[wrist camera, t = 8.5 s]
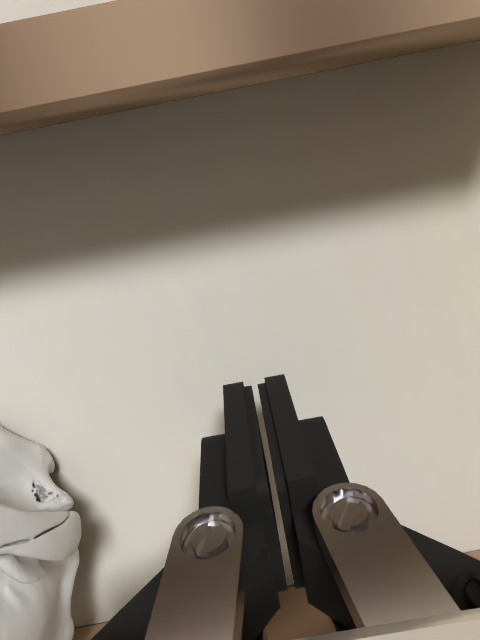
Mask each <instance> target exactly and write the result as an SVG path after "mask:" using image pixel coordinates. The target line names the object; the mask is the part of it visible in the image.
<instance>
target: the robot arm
mask: <svg viewBox="0 0 480 640" xmlns="http://www.w3.org/2000/svg"><path fill="white" fill-rule="evenodd" d="M264 379H265V383H263V384H258V389H259V394H260V400H261V405H262V411H263V416H264V422H265V427H266V433H267V438H268V444H269V449H270V455H271V460H272V465H273V471H274V476H275V482H276V487H277V493H278V498H279V503H280V509H281V514H282V520H283V525H284V530H285V536H286V541H287V547H288V552H289V557H290V563H291V568H292V574H293V579H294V585H295V589H298V588H304V587H305V591H306V596H307V601H308V604H311V605H312V606H314V607H315V608H317V609H318V610H320V611H321V612H323V613H324V614H326V615H327V616H328V620H329V625H330V628H331V631H332V633H328V634H322V635H317V636H311V637H305V638H299V639H294V640H480V560H478V559H476V558H473V557H471V556H469V555H467V554H465V553H462V552H460V551H458V550H456V549H453V548H451V547H449V546H447V545H445V544H442V543H440V542H438V541H436V540H433V539H431V538H429V537H427V536H425V535H422V534H420V533H418V532H416V531H413V530H411V529H409V528H407V527H405V526H402V525H400V523H399V522H398V520H397V519H396V517H395V516H394V515H393V513H392V512H391V510H390V509H389V507H388V506H387V505H386V503H385V502H384V500H383V499H382V498H381V497H380V496H379V495H378V494H377V493H376V492H375V491H374V490H372V489H370V488H368V487H367V486H364V485H360V484H357V483H350V482H349V480H348V477H347V475H346V472H345V470H344V467H343V465H342V462H341V460H340V458H339V455H338V453H337V450H336V448H335V445H334V443H333V440H332V438H331V435H330V433H329V430H328V428H327V425H326V423H325V420H324V418H323V417H322V416H321V417H315V418H310V419H304V420H299V421H298V418H297V415H296V412H295V408H294V405H293V402H292V399H291V395H290V392H289V389H288V386H287V382H286V379H285V376H284V374H283V375H277V376H272V377H266V378H264ZM223 395H224V419H225V434H221V435H216V436H210V437H205V438H202V441H201V463H200V490H199V510H197V511H195V512H192V513H191V514H190V515H188V516H187V517H186V518H184V519H183V520H182V522H181V523H180V524H179V525H178V526H177V528H176V530H175V532H174V535H173V537H172V541H171V545H170V548H169V552H168V556H167V559H166V563H165V567H164V568H163V569H162V570H161V571H160V572H159V573H158V574H157V575H156V576H155V577H154V578H153V579H152V580H151V581H150V582H149V583H148V584H147V585H146V586H145V587H144V588H143V589H142V590H141V591H140V592H139V593H138V594H137V595H136V596H135V597H133V598H132V599H131V600H130V601H129V602H128V603H127V604H126V605H125V606H124V607H123V608H122V609H121V610H120V611H119V612H118V613H117V614H116V615H115V616H114V617H113V618H112V619H111V620H110V621H109V622H108V623H107V624H106V625H105V626H104V627H103V628H102V629H101V630H100V631H99V632H98V633H97V634H96V635H95V636H94V637H93V638H92V639H91V640H268V636H267V628H266V626H267V624H268V623H269V622H270V620H271V619H272V617H273V616H274V615H275V613H276V612H277V611H278V609H281V608H280V601H279V594H278V592H281V591H287V584H286V578H285V572H284V566H283V560H282V554H281V548H280V542H279V536H278V530H277V524H276V518H275V512H274V506H273V500H272V494H271V488H270V482H269V476H268V471H267V465H266V460H265V455H264V449H263V444H262V439H261V434H260V428H259V423H258V418H257V412H256V407H255V402H254V397H253V391H252V386H246V387H244V385H243V382H239V383H233V384H228V385H223Z"/></svg>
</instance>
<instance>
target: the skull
mask: <svg viewBox="0 0 480 640" xmlns="http://www.w3.org/2000/svg"><path fill="white" fill-rule="evenodd" d="M54 468H55V464H54V460H53V458H52V456H51V454H50V453H49V451H48V450H47V449H46V448H45V447H43V446H41V445H39V444H37V443H35V442H32V441H29V440H26V439H24V438H22V437H20V436H18V435H15V434H13V433H11V432H9V431H7V430H6V429H4V428H3V427H1V426H0V640H72V639H73V635H74V623H73V620H72V617H71V596H72V592H73V586H74V581H75V576H76V572H77V569H78V566H79V561H80V560H79V550H78V546H79V543H80V540H81V518H80V516H79V514H78V513H77V512H75V511H69V510H70V509H71V508H72V507H73V505H74V501H73V499H72V498H71V497H70V496H69V495H68V494H67V493H66V492H65V491H63V490H61V489H60V488H58V487H57V486H56V485H55V484H54V482H53V481H52V479H51V478H50V475H49V474H51V473H53V471H54ZM67 511H68V512H67Z"/></svg>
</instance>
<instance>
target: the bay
mask: <svg viewBox="0 0 480 640" xmlns="http://www.w3.org/2000/svg"><path fill="white" fill-rule="evenodd" d="M475 40H480V0H117V1H112V2H107V3H102V4H97V5H92V6H87V7H82V8H77V9H72V10H67V11H62V12H57V13H52V14H47V15H42V16H37V17H32V18H27V19H22V20H17V21H12V22H7V23H2V24H0V135H4V134H9V133H14V132H19V131H24V130H29V129H34V128H39V127H44V126H49V125H54V124H59V123H64V122H69V121H74V120H79V119H84V118H89V117H94V116H99V115H104V114H109V113H114V112H119V111H124V110H129V109H134V108H139V107H144V106H149V105H154V104H159V103H164V102H169V101H174V100H179V99H185V98H189V97H195V96H200V95H205V94H210V93H215V92H220V91H225V90H230V89H235V88H240V87H245V86H250V85H255V84H260V83H265V82H270V81H275V80H280V79H285V78H290V77H295V76H300V75H305V74H310V73H315V72H320V71H325V70H330V69H335V68H340V67H345V66H350V65H355V64H360V63H365V62H370V61H375V60H380V59H385V58H390V57H395V56H400V55H405V54H410V53H415V52H420V51H425V50H430V49H435V48H440V47H445V46H450V45H455V44H460V43H465V42H470V41H475ZM465 554H467V555H469V556H471V557H473V558H476V559H478V560H480V550H478V551H473V552H468V553H465ZM278 594H279V601H280V608H281V609H278V611H277V612H276V613H275V615H274V616H273V617H272V619H271V620H270V622H269V623H268V624H267V626H266V628H267V636H268V640H294V639H299V638H305V637H311V636H317V635H322V634H328V633H332V631H331V628H330V625H329V620H328V616H327V615H326V614H324V613H323V612H321V611H320V610H318V609H317V608H315V607H314V606H312V605H311V604H308V601H307V596H306V591H305V587H304V588H298V589H295V586H292V587H287V591H281V592H278ZM107 623H108V622H106V623H101V624H96V625H91V626H85V627H80V628H75V629H74V635H73V639H72V640H91V639H92V638H93V637H94V636H95V635H96V634H97V633H98V632H99V631H100V630H101V629H102V628H103V627H104V626H105V625H106V624H107Z"/></svg>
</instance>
